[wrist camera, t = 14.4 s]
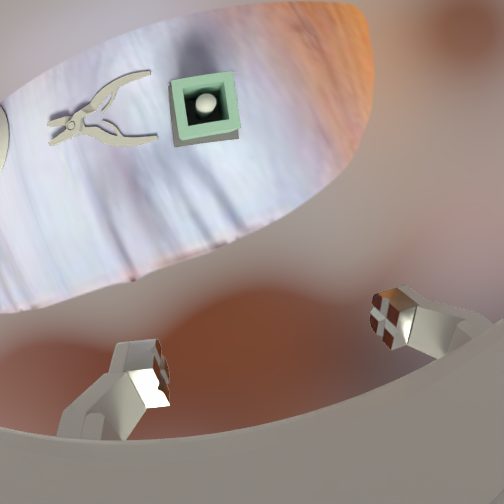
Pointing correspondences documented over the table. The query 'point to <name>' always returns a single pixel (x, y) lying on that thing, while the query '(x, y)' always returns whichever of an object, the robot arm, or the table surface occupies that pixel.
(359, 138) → the table surface
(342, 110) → the table surface
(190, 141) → the post stand
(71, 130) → the pliers
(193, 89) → the sleeve
